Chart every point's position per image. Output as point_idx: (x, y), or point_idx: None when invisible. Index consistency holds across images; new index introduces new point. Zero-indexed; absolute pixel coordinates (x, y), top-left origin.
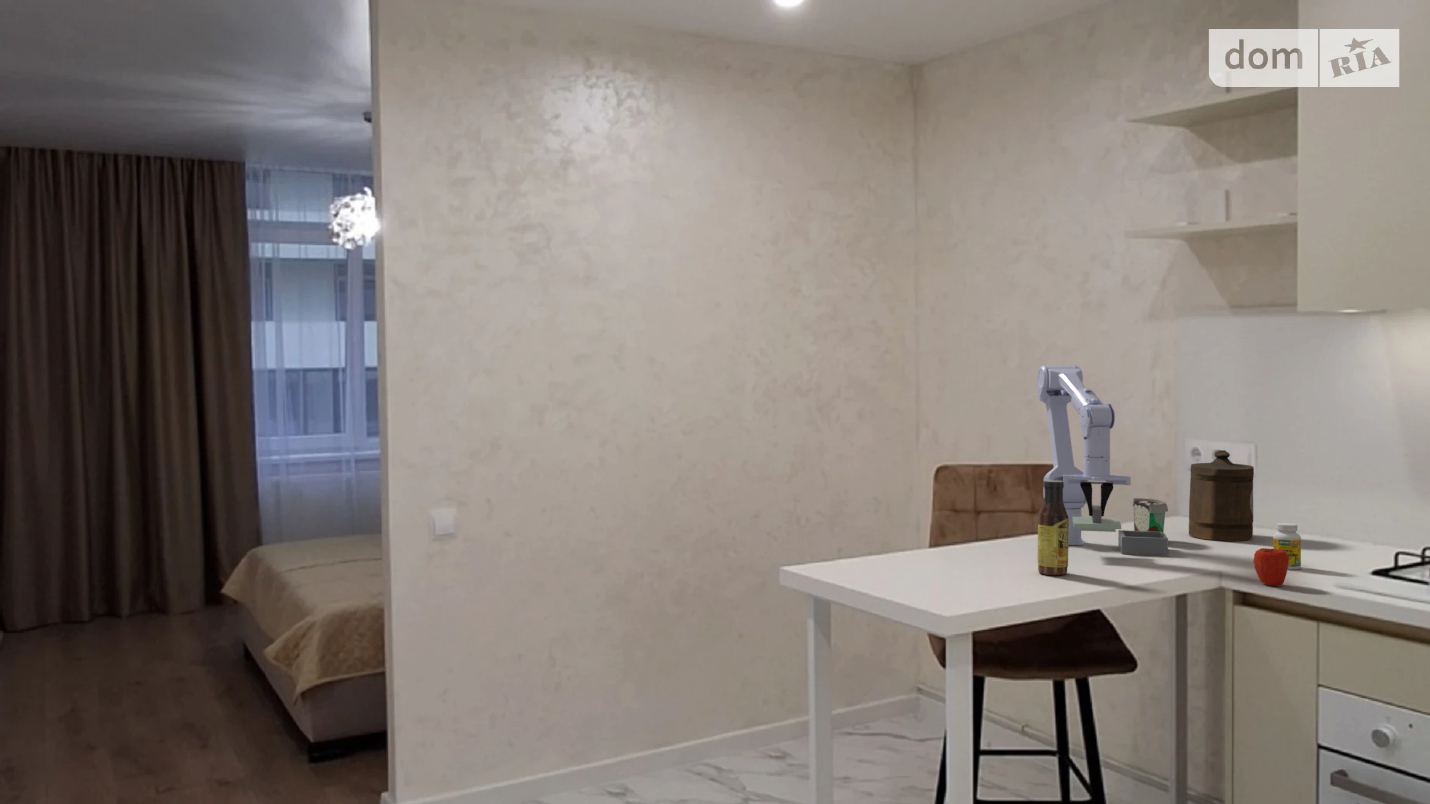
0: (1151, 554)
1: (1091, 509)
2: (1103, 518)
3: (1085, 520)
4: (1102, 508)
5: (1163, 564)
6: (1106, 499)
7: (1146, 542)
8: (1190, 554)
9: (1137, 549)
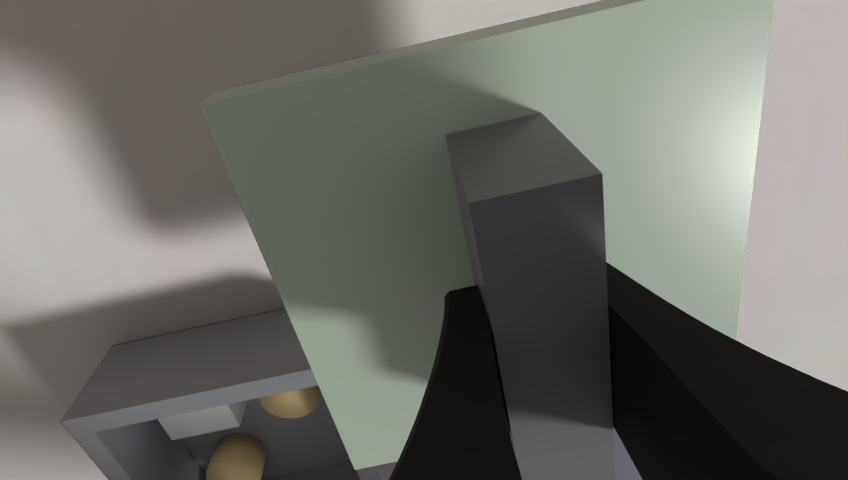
0: (191, 331)
1: (616, 295)
2: None
3: (625, 244)
4: (471, 337)
5: (3, 74)
6: (423, 448)
7: (195, 372)
8: (39, 421)
9: (256, 331)
